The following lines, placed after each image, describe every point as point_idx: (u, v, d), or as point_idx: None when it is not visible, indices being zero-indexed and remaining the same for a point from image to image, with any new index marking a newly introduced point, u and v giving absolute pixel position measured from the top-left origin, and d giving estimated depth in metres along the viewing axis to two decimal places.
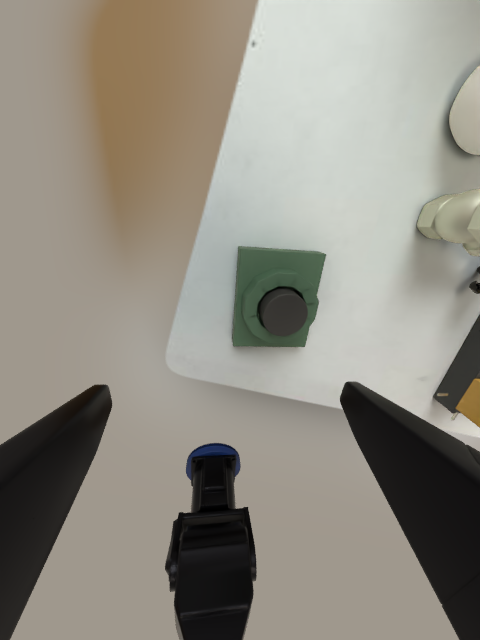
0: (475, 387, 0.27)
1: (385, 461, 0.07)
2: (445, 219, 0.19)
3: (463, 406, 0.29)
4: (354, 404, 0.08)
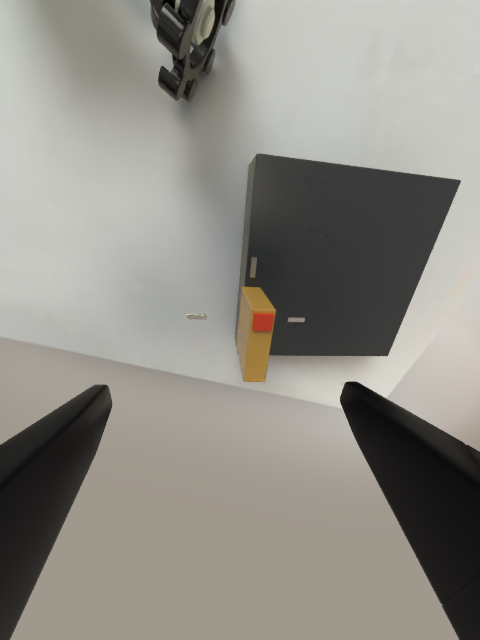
0: (241, 300, 0.16)
1: (385, 461, 0.07)
2: None
3: (238, 339, 0.17)
4: (354, 404, 0.08)
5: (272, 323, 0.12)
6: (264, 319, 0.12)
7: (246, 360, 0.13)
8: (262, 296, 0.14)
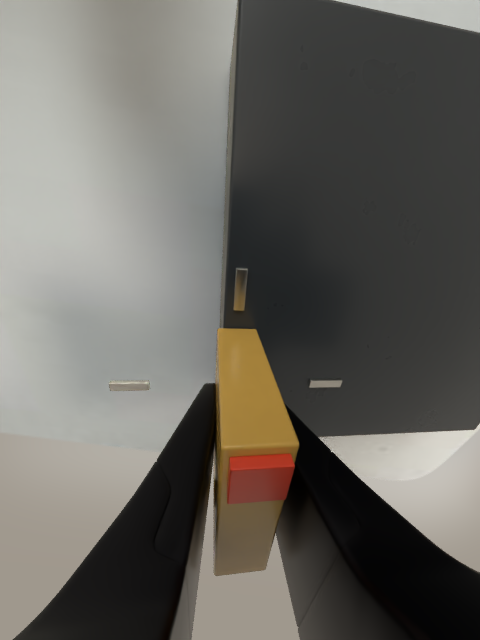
0: (217, 359, 0.08)
1: None
2: None
3: None
4: None
5: (288, 480, 0.04)
6: (262, 479, 0.04)
7: (217, 543, 0.05)
8: (259, 364, 0.06)
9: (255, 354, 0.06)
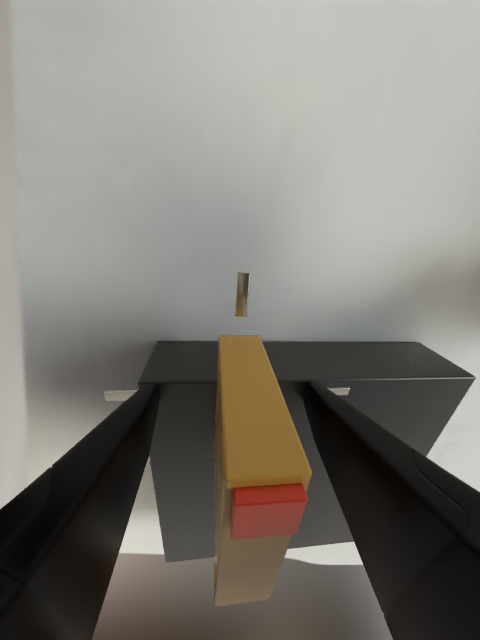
0: None
1: (337, 464, 0.07)
2: None
3: None
4: (313, 405, 0.08)
5: None
6: (272, 513, 0.03)
7: (218, 574, 0.05)
8: (264, 376, 0.05)
9: (259, 364, 0.06)
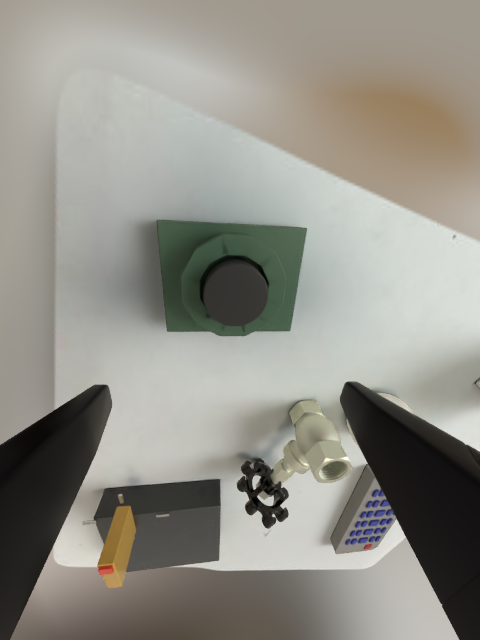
0: None
1: (385, 461, 0.07)
2: (317, 421, 0.21)
3: None
4: (354, 404, 0.08)
5: (112, 570, 0.20)
6: (105, 571, 0.20)
7: (104, 580, 0.21)
8: (119, 531, 0.22)
9: (121, 525, 0.22)
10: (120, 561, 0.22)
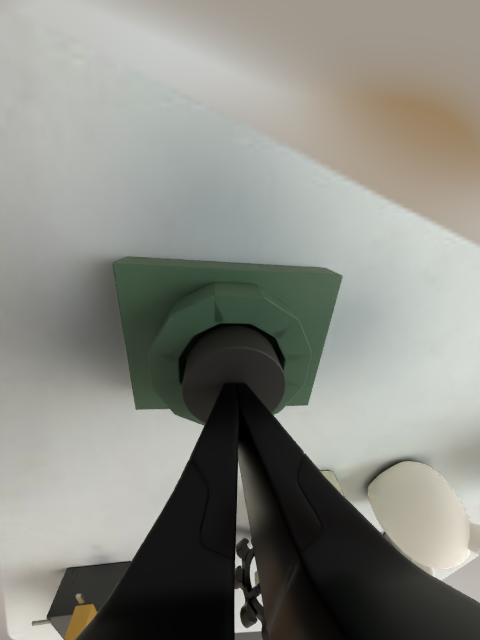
0: None
1: (245, 470, 0.06)
2: None
3: None
4: None
5: None
6: None
7: None
8: None
9: None
10: None
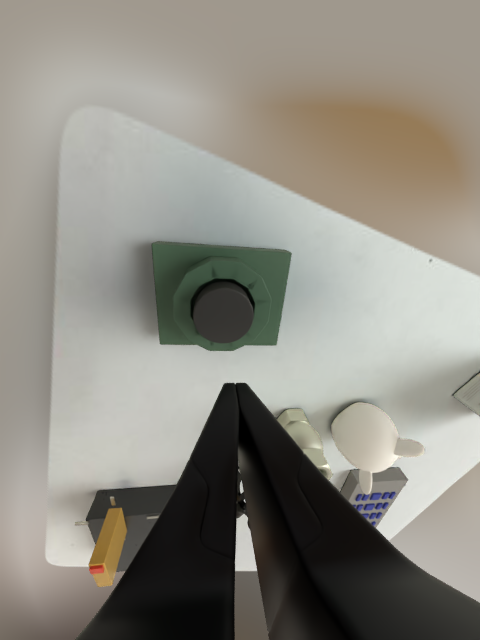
0: None
1: (245, 470, 0.06)
2: (302, 430, 0.23)
3: None
4: None
5: (102, 569, 0.21)
6: (96, 570, 0.21)
7: (95, 579, 0.22)
8: (110, 532, 0.23)
9: (112, 526, 0.23)
10: (110, 561, 0.22)
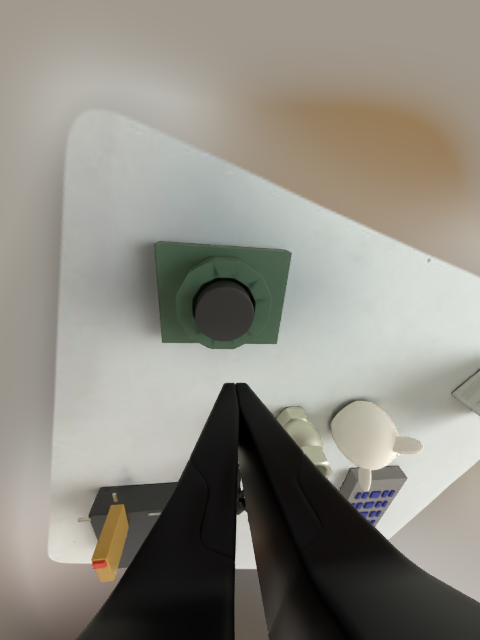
0: None
1: (246, 470, 0.06)
2: (302, 427, 0.23)
3: None
4: None
5: (105, 564, 0.21)
6: (99, 565, 0.21)
7: (98, 574, 0.22)
8: (113, 528, 0.23)
9: (115, 522, 0.24)
10: (113, 556, 0.23)
